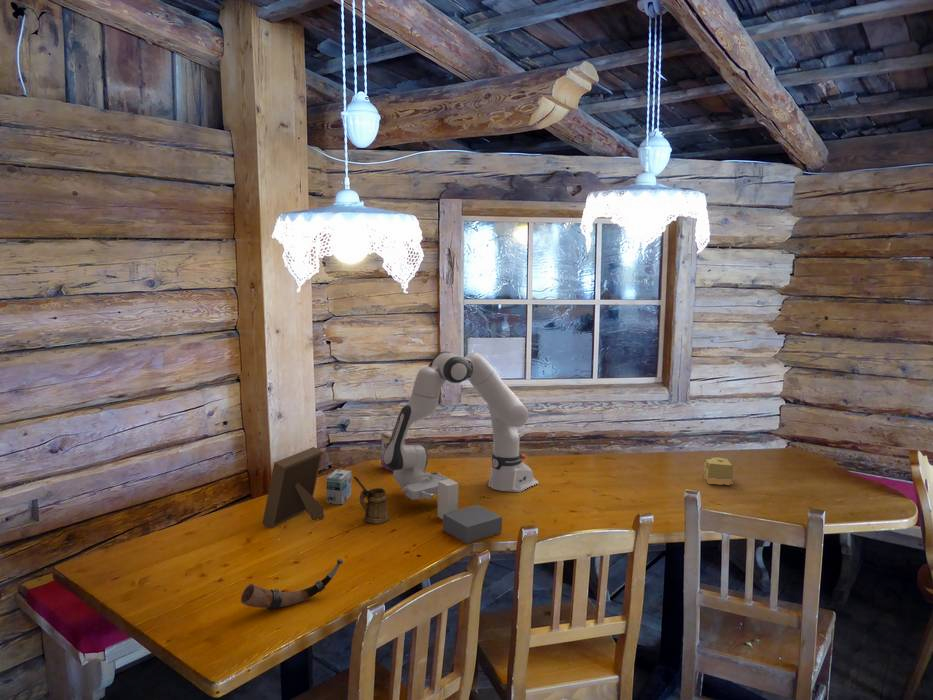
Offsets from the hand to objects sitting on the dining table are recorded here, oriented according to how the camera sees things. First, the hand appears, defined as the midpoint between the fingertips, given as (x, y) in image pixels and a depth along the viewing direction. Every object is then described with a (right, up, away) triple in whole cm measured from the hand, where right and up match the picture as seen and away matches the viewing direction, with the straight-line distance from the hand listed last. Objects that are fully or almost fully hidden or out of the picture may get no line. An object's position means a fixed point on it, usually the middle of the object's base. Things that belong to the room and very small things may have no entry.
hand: (441, 494), depth 265 cm
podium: (+11, -11, -13) cm, 21 cm away
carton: (+2, -8, -2) cm, 9 cm away
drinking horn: (-40, -18, -66) cm, 79 cm away
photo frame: (-53, -8, -8) cm, 54 cm away
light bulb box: (-42, -5, +13) cm, 44 cm away
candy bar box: (-24, +1, +50) cm, 56 cm away
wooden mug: (-26, -8, -6) cm, 28 cm away
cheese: (+122, -4, +47) cm, 131 cm away
